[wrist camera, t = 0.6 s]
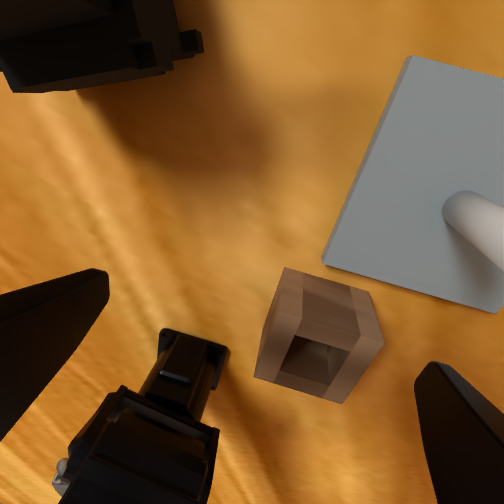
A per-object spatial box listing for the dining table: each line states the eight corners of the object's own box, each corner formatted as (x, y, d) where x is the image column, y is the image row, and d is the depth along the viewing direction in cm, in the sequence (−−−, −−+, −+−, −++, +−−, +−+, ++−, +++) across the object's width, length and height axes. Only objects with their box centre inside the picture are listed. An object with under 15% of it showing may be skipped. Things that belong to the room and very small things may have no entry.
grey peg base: (487, 304, 20) (581, 413, 13) (321, 256, 20) (329, 337, 13) (649, 121, 13) (992, 145, 7) (406, 57, 14) (500, 20, 7)
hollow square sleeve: (335, 349, 24) (341, 404, 20) (263, 327, 24) (253, 377, 20) (368, 291, 21) (385, 342, 16) (284, 267, 21) (278, 311, 17)
